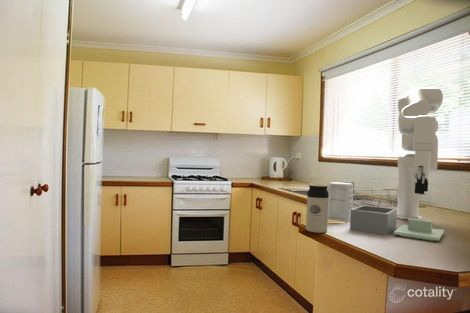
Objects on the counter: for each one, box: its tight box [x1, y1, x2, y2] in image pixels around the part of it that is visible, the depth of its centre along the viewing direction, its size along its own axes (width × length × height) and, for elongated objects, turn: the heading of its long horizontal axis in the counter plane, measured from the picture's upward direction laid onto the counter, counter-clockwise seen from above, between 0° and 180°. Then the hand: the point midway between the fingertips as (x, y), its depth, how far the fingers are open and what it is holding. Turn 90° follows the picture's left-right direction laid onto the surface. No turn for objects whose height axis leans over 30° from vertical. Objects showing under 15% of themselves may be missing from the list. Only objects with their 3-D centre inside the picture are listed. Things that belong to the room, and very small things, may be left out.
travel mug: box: [305, 182, 329, 234], centre depth 144 cm, size 8×8×18 cm
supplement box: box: [327, 181, 354, 222], centre depth 174 cm, size 10×9×17 cm
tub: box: [349, 204, 398, 236], centre depth 154 cm, size 18×14×8 cm
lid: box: [393, 219, 445, 242], centre depth 145 cm, size 19×15×6 cm
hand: (421, 192), depth 145 cm, fingers open, 9 cm apart
